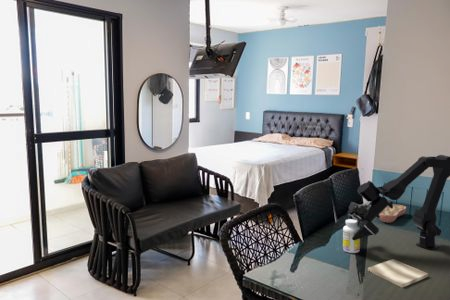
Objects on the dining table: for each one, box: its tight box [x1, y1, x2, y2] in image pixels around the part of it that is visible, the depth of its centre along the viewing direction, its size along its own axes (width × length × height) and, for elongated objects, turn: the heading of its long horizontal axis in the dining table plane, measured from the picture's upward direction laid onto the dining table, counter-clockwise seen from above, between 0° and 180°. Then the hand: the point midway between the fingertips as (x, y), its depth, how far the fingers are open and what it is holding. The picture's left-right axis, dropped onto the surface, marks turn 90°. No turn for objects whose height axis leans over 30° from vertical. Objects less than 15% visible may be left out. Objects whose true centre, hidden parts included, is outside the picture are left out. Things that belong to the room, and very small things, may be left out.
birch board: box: [367, 258, 429, 289], centre depth 129 cm, size 14×14×1 cm
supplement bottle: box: [342, 219, 361, 254], centre depth 149 cm, size 7×7×13 cm
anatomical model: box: [378, 203, 407, 224], centre depth 187 cm, size 23×10×5 cm, turn 137°
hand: (348, 235), depth 149 cm, fingers open, 9 cm apart
